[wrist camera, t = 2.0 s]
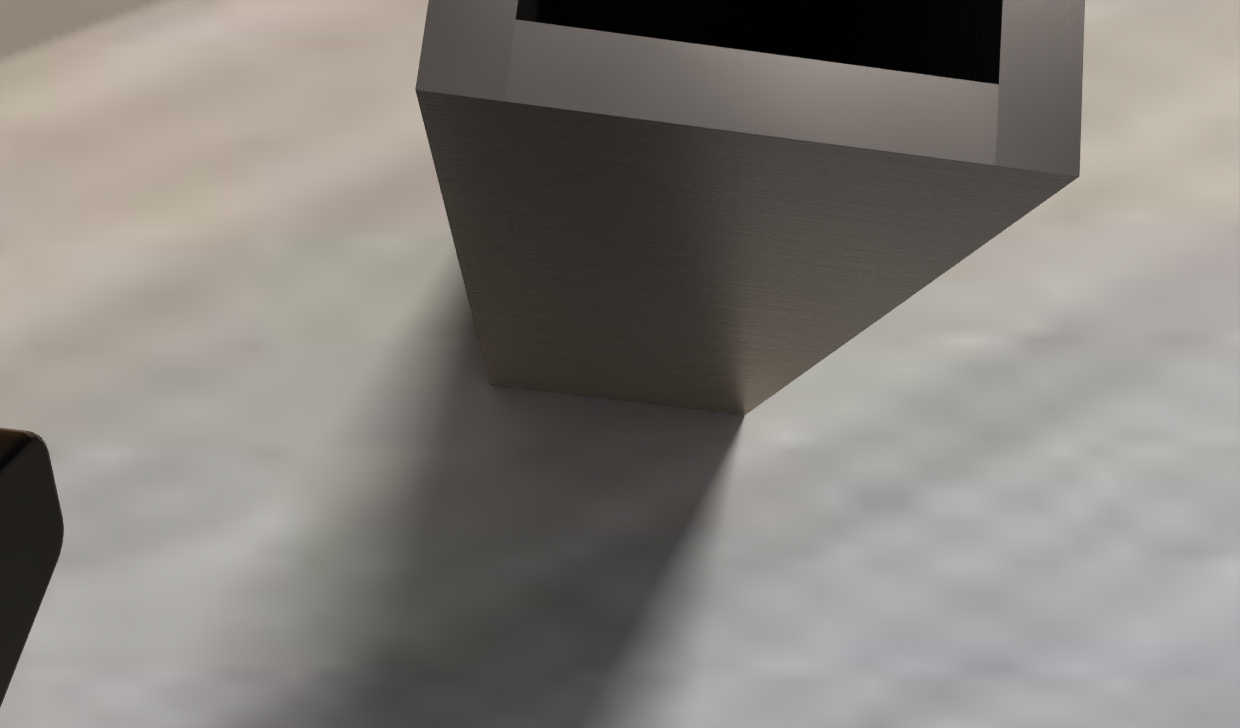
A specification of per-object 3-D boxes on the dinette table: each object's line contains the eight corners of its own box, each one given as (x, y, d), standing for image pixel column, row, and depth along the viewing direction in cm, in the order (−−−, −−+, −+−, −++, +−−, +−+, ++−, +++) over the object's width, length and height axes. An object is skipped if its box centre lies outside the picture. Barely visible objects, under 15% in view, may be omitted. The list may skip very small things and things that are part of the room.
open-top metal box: (745, 414, 20) (1079, 176, 8) (489, 384, 20) (415, 89, 7) (766, 172, 21) (1097, -389, 9) (521, 140, 21) (502, -485, 8)
